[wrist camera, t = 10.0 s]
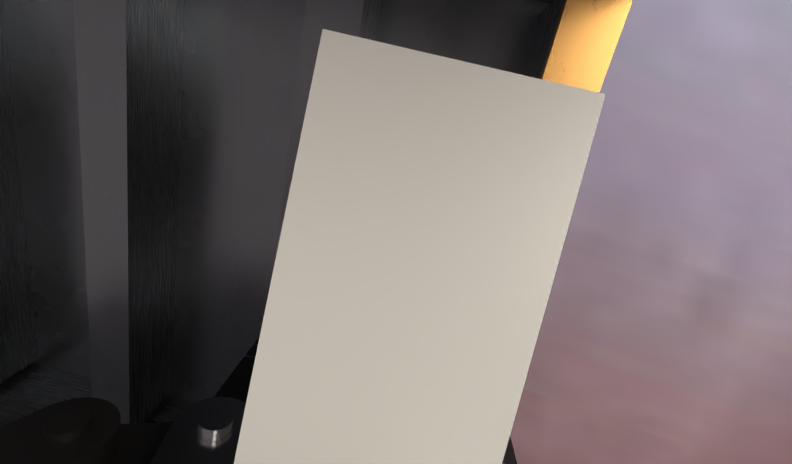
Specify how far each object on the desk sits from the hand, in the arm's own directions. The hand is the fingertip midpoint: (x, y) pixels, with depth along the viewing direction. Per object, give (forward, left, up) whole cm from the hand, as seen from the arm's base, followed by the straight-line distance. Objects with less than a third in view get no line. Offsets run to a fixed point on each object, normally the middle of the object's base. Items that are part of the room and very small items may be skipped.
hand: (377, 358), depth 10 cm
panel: (+1, 0, -3) cm, 3 cm away
